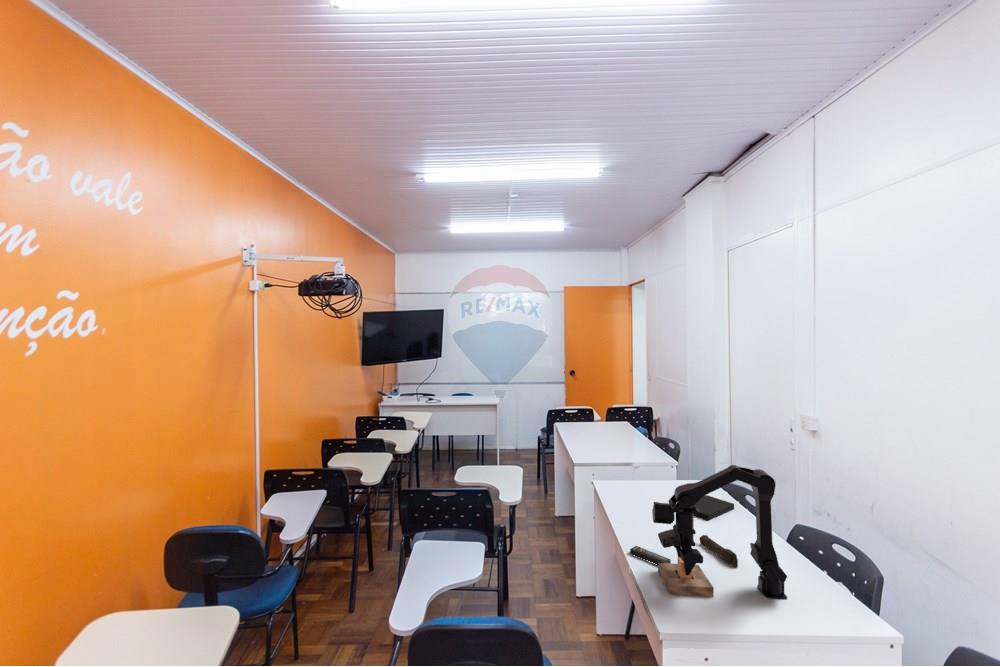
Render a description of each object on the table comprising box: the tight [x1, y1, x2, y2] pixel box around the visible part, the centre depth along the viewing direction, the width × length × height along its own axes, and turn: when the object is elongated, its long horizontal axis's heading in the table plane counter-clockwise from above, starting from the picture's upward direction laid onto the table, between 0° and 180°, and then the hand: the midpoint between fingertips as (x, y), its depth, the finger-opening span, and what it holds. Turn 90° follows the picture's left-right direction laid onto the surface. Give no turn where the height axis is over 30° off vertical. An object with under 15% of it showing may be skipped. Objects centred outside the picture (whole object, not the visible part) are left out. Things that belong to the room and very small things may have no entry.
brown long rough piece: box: [699, 534, 739, 568], centre depth 170 cm, size 19×4×5 cm, turn 9°
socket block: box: [657, 563, 715, 597], centre depth 151 cm, size 14×14×3 cm
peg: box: [677, 556, 692, 579], centre depth 151 cm, size 4×4×8 cm
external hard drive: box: [694, 494, 735, 522], centre depth 214 cm, size 14×23×3 cm, turn 125°
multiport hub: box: [629, 545, 672, 566], centre depth 168 cm, size 4×14×2 cm, turn 42°
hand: (684, 570), depth 151 cm, fingers open, 6 cm apart
